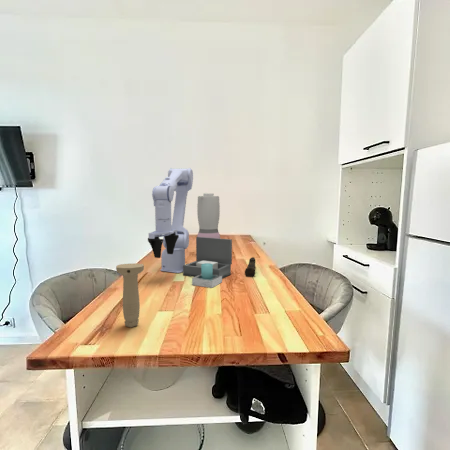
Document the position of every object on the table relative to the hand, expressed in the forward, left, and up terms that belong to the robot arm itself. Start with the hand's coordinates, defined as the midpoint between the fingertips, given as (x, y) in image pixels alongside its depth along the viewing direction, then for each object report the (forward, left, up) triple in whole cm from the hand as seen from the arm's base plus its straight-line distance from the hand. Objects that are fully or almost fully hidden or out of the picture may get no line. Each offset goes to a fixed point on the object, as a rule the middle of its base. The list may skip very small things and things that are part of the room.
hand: (164, 255), depth 118 cm
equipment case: (+10, +15, -9) cm, 20 cm away
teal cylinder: (+16, +4, -9) cm, 19 cm away
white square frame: (+16, +4, -9) cm, 19 cm away
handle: (+17, -36, -10) cm, 41 cm away
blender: (-8, +50, -10) cm, 52 cm away
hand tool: (+23, +28, -10) cm, 38 cm away
